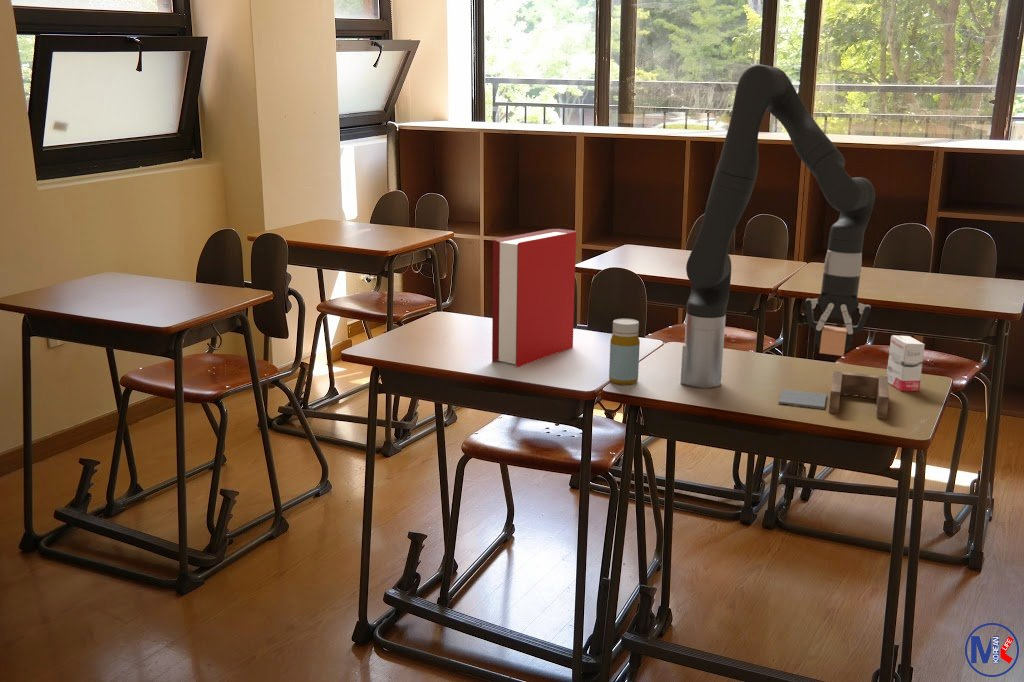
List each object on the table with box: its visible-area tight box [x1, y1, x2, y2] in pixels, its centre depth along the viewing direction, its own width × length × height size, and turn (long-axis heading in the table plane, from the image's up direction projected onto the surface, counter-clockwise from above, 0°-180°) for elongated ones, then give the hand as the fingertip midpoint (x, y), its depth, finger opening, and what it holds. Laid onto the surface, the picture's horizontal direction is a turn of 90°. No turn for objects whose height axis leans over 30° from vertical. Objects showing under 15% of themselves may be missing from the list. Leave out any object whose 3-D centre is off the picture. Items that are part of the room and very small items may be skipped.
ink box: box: [886, 334, 926, 392], centre depth 233 cm, size 8×5×12 cm, turn 3°
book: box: [491, 228, 577, 368], centre depth 255 cm, size 27×8×32 cm, turn 143°
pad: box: [778, 388, 827, 410], centre depth 222 cm, size 10×10×1 cm
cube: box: [819, 325, 847, 357], centre depth 210 cm, size 5×5×5 cm
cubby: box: [828, 370, 890, 420], centre depth 219 cm, size 12×17×5 cm
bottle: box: [608, 318, 641, 386], centre depth 233 cm, size 7×7×15 cm
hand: (832, 347), depth 211 cm, fingers closed on cube, 5 cm apart
